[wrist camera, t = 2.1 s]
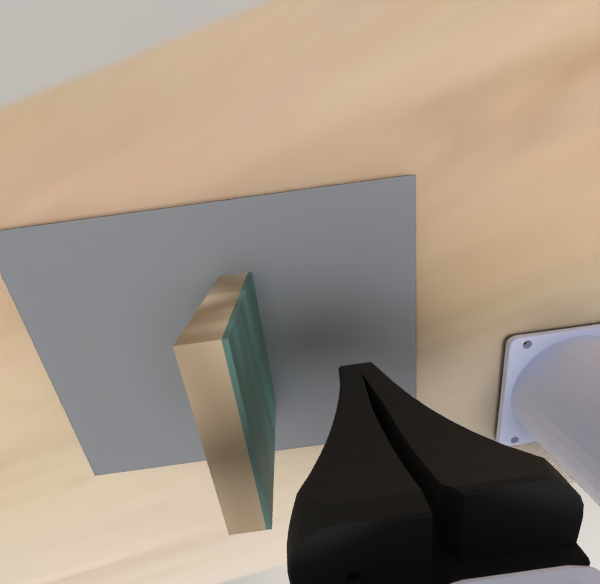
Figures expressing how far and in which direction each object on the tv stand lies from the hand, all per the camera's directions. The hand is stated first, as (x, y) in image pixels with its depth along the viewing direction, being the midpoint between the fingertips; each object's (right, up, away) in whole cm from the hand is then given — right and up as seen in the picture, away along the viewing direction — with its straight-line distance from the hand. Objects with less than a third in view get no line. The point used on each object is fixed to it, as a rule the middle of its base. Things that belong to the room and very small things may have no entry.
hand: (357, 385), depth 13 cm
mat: (-6, +1, +5) cm, 8 cm away
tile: (-5, +1, +4) cm, 7 cm away
